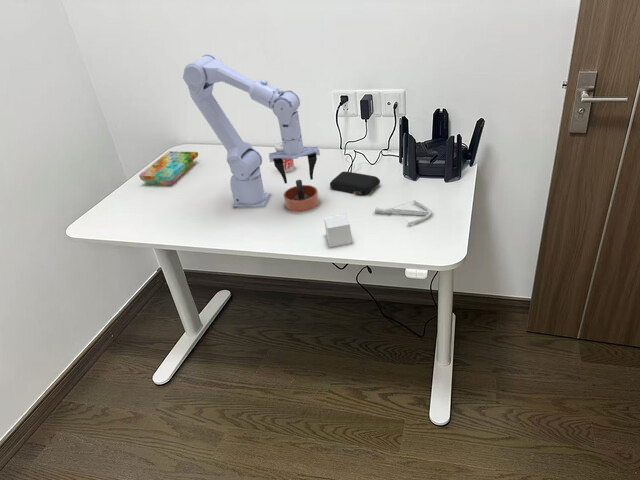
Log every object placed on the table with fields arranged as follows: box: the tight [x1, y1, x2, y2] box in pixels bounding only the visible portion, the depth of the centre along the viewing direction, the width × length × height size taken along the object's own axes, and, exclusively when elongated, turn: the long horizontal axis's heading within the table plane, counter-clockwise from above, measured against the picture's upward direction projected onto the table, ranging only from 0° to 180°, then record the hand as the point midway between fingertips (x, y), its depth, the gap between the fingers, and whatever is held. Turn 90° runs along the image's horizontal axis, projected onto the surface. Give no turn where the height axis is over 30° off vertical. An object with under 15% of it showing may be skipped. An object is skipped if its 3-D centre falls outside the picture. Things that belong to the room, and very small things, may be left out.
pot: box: [283, 184, 320, 213], centre depth 164 cm, size 10×10×4 cm
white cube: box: [323, 213, 353, 248], centre depth 146 cm, size 6×6×6 cm
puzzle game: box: [139, 150, 199, 186], centre depth 191 cm, size 12×5×20 cm
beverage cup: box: [273, 141, 295, 173], centre depth 183 cm, size 6×6×14 cm
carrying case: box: [329, 171, 381, 196], centre depth 171 cm, size 11×3×15 cm
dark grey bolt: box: [294, 179, 308, 200], centre depth 163 cm, size 4×4×8 cm
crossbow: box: [374, 199, 432, 226], centre depth 156 cm, size 16×13×2 cm
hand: (298, 180), depth 161 cm, fingers open, 7 cm apart
